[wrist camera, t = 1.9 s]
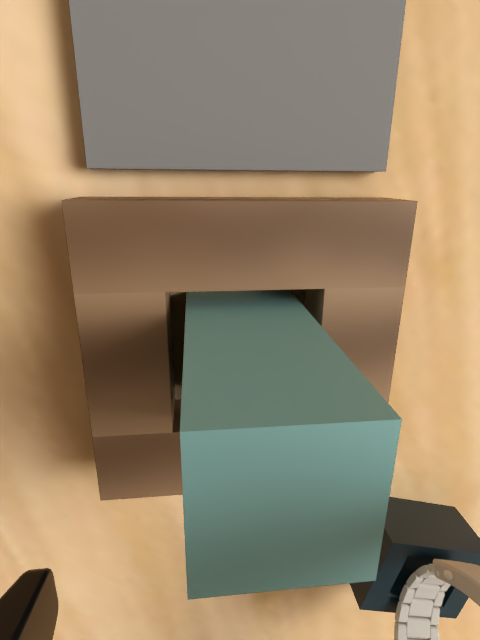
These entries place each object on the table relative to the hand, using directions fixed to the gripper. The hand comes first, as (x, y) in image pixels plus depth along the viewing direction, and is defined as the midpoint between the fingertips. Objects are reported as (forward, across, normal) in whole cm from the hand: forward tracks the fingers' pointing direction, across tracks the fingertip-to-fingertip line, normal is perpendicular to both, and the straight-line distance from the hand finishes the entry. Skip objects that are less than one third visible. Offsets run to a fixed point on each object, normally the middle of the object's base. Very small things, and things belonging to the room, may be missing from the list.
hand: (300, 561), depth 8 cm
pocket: (+11, 0, 0) cm, 11 cm away
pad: (+11, 0, -12) cm, 16 cm away
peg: (+11, 0, 0) cm, 11 cm away
